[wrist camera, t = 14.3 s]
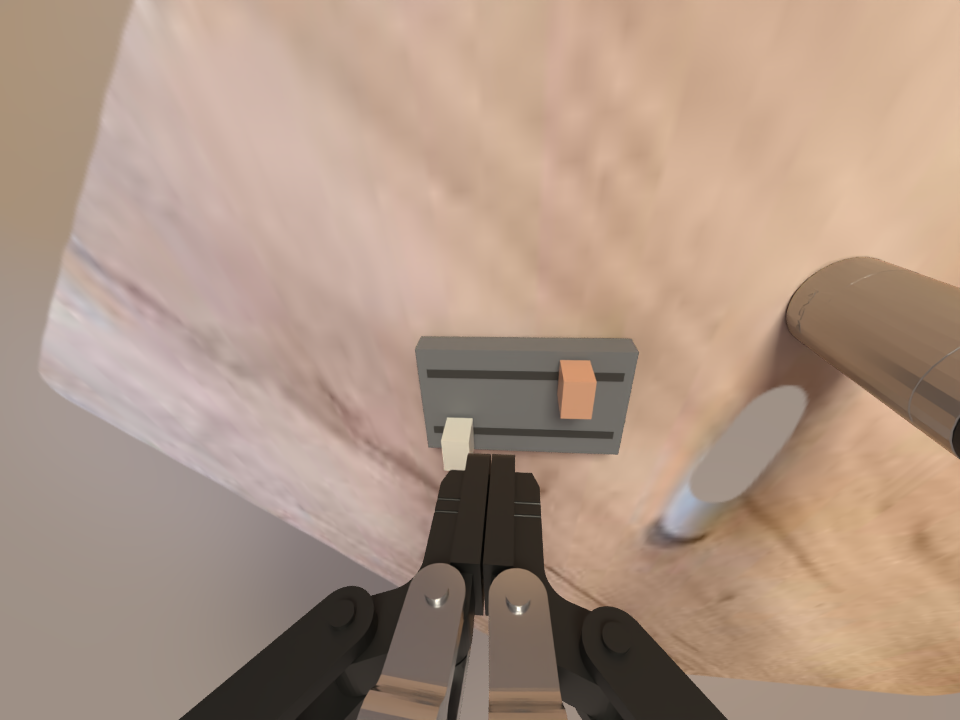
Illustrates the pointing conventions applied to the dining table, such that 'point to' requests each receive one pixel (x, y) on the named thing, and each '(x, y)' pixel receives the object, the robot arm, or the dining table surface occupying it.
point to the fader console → (524, 391)
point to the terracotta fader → (576, 389)
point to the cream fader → (457, 442)
